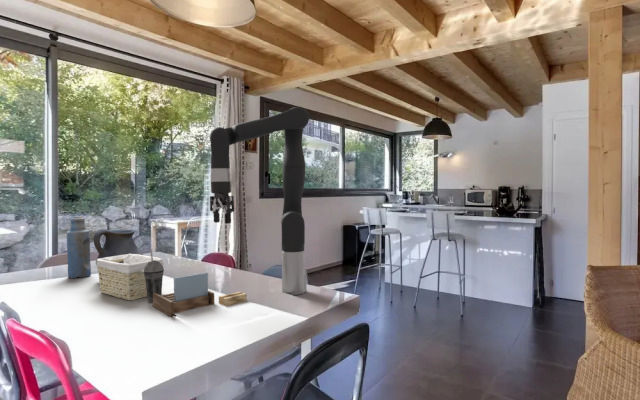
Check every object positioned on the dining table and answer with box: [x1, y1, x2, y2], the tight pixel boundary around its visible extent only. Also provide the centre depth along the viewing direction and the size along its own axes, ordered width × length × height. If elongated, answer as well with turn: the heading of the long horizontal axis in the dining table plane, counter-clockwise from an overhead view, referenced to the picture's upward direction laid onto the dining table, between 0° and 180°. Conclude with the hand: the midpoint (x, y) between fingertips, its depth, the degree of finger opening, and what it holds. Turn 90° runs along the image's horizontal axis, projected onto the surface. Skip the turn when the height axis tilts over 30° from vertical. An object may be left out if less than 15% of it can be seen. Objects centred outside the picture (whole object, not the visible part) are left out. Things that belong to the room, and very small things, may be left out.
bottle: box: [66, 216, 92, 279], centre depth 187 cm, size 10×10×30 cm
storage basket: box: [95, 254, 164, 301], centre depth 155 cm, size 24×16×15 cm
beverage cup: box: [143, 249, 165, 304], centre depth 143 cm, size 7×7×20 cm
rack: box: [152, 290, 215, 318], centre depth 136 cm, size 16×16×5 cm
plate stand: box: [218, 291, 248, 307], centre depth 138 cm, size 9×5×4 cm, turn 134°
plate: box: [173, 272, 209, 302], centre depth 134 cm, size 12×1×11 cm, turn 134°
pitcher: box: [93, 228, 144, 264], centre depth 179 cm, size 21×22×25 cm
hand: (222, 222), depth 144 cm, fingers open, 8 cm apart
